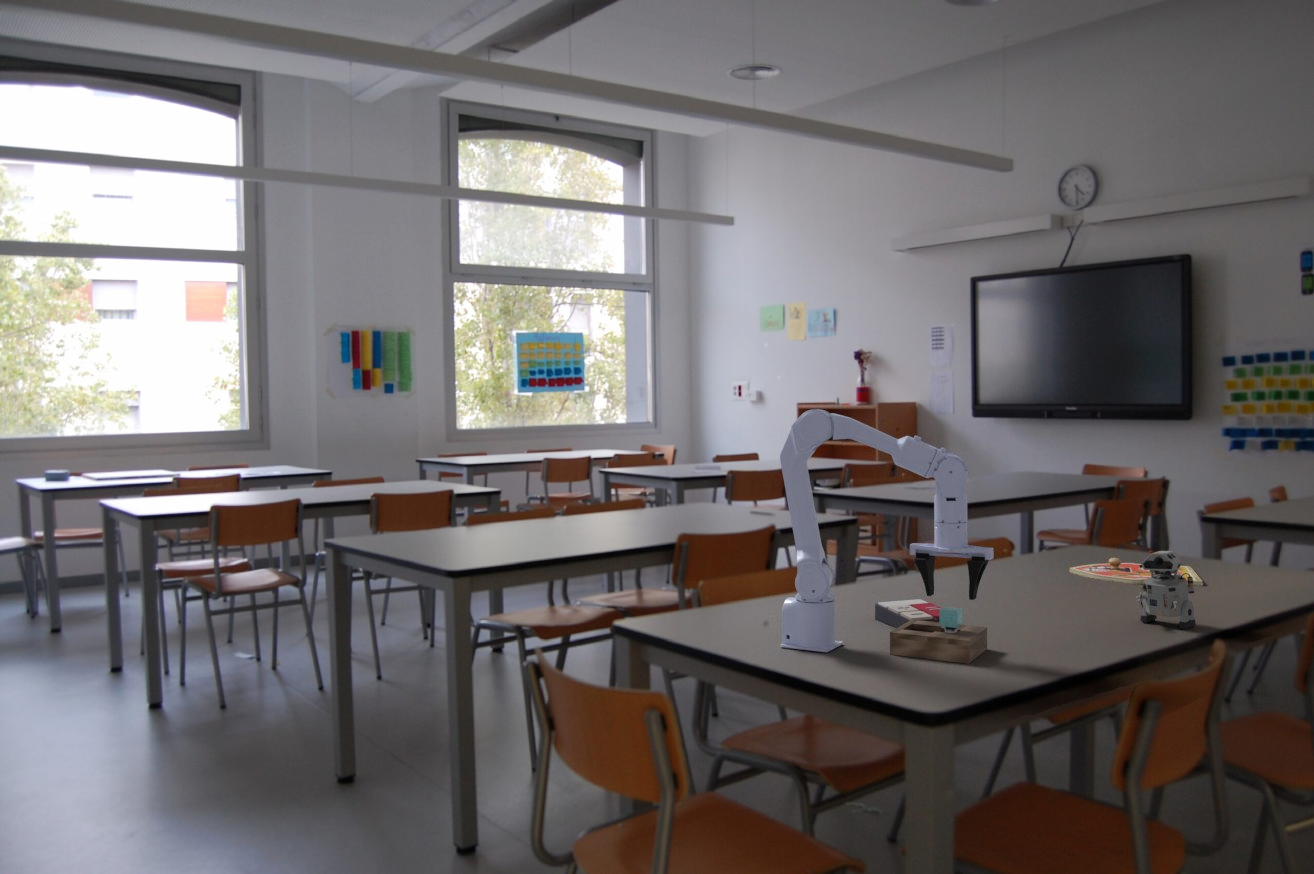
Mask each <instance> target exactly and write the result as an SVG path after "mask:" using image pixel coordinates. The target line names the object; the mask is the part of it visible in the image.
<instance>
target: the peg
mask: <svg viewBox="0 0 1314 874" xmlns="http://www.w3.org/2000/svg"><path fill="white" fill-rule="evenodd" d="M961 625H963V608H962V607H953V606H944V607H941V609H940V610H939V626H942V627H945V633H955V634H956V633H957V628H958V627H960V626H961Z"/></svg>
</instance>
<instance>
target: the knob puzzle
mask: <svg viewBox="0 0 1314 874" xmlns="http://www.w3.org/2000/svg"><path fill="white" fill-rule="evenodd" d="M1139 565H1141V563H1135V562H1122V560H1121V558H1118V557H1110V558H1109V559H1108V563H1091V564H1084V565H1083V564H1082V565H1077V566H1073V567H1072V566H1070V567H1069V573H1070V574H1074V575H1076V574H1077V575H1076V576H1080V577H1084V578H1088V577H1089V579H1092V578H1094V579H1093V580H1097V579H1100V580H1099V581H1106V582H1112V581H1114V583H1119V582H1122V583H1121V584H1127V583H1129V585H1142V583H1143V581H1144V580H1146V579H1148V578H1149V577H1151V573H1150V571H1149V570H1144V569H1143V567H1142V568H1140V566H1139ZM1177 571H1178V572H1177V574H1176V576H1182V575H1183V574H1184V575H1183V576H1182V577H1184V578H1185V579H1186V580H1188V579H1187V577H1189V575H1190V577H1193V587H1203V586H1204V582H1203V581H1204V580H1202V579H1201V577H1200V576H1199V575H1198V574H1197V573H1196V572H1195V570H1194V569H1193V568H1192V566H1189V565H1180V568H1179V569H1177ZM1185 573H1187V574H1185ZM1153 574H1154V573H1153ZM1188 574H1189V575H1188ZM1172 575H1174V573H1172ZM1187 585H1188V582H1187Z"/></svg>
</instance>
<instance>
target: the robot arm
mask: <svg viewBox="0 0 1314 874" xmlns="http://www.w3.org/2000/svg"><path fill="white" fill-rule="evenodd" d="M831 438H832V440H833V441H834V440H835V441H836V440H847V439H848V440H853V441H856V442H858V443H861V444H863V445H865V446H868V447H870V448H874V449H876V450H878V451H880V452H883V453H886V454H889V455H891V458H892V461H893V463H894V465H896V466H897V467H900V468H902V469H904V470H907V471H910V472H912V473H914V474H916V475H919V476H921V477H923V478H926V479H929V478H934V480H935V494H934V496H933V503H934V504H933V505H934V506H933V510H934V511H933V512H934V513H933V514H934V516H933V518H934V519H933V520H934V524H933V528H934V530H933V532H934V533H933V535H934V540H933V541H934V543H922V542H921V543H917V542H915V543H914V542H913V543H910V544H909V555H910V556H915V557H914V558H913V561H914V563H915V565H916V567H917V569H918V571H919V573H920V576H921V578H922V582H923V584H924V585H923V586H924V587H925V588H924V589H925V592H926V596H927V597H931V596H934V595H935V578H934V577H935V576H934V575H935V563H936V557H948V558H961V559H962V558H965V559H968V560H967V561H966V563H967V569H968V580H969V582H968V583H969V585H968V599H969V600H970V601H974V600H976V599H977V597H978V590H979V586H980V583H981V582H980V581H981V579H982V577H983V575H984V572H985V570H986V568H987V566H988V564H989V561H991V560H994V555H995V554H994V548H993V547H986V546H978V545H977V546H976V545H969V543H968V542H969V541H968V539H969V538H968V496H967V491H968V490H967V488H968V487H967V484H966V482H967V480H968V478H969V471H968V466H967V464H966V462H965V461H964V460H963V459H962V458H961V457H960V456H958V455H956V454H955V453H954V452H953V453H952V452H950V453H949V452H947V448H945V447H941V448H937V447H936V446H933V445H931V444H929V443H926V442H924V441H922V437H920V436H918V435H914V437H912V436H909V435H905V436H902V437H900V438H896V437H894V436H891V435H890V434H887V433H885V432H883V431H881V430H878V429H876V428H874V427H872V426H870V425H868V424H865V423H864V422H861V421H859V420H856V419H854V418H852V417H849V416H845V415H842V414H838V413H833V412H831V413H830V412H829V411H827V410H824V409H822V408H821V409H819V408H817V409H809V410H806V411H804V412H803V413H802V414H801V415H799V417H798V418H797V419H796V420H795V421H794V422H793V423H792V425H791V427H790V430H789V434H788V435H787V437H786V440H785V442H784V444H783V446H782V449H781V451H780V454H779V461H780V466H781V472H782V477H783V483H784V488H785V494H786V499H787V505H788V511H789V516H790V522H791V527H792V532H793V539H794V544H795V549H796V568H797V569H796V570H797V572H796V573H797V574H796V575H795V580H794V586H795V590H796V592H797V593H796V594H795V597H792V596H789V597H787V598H785V600H784V601H783V605H782V608H781V644H779V646H780V648H785V649H794V650H795V649H796V650H801V651H803V650H804V651H811V652H817V653H818V652H819V653H820V652H821V653H829V652H831V651H833V650H835V649H836V648H838V647H840V646H842V645H843V644H844V641H842V640H836V608H835V607H836V602H835V601H836V598H835V597H836V596H835V595H834V594H833V593H832V591H831V590H830V588H831V587H832V585H833V583H834V579H835V574H834V573H835V572H834V571H833V568H832V567H831V565H830V563H828V560H827V558H826V557H827V556H826V552H825V551H824V547H823V544H822V539H821V535H820V529H819V522H818V518H817V511H816V507H815V501H814V495H813V489H812V485H811V478H810V474H809V469H808V461H809V460H810V458H812V455H813V454H814V453H815V452H816V450H817V449H818V448H819V447H820V446H821V445H823V444H825V443H826V442H827V441H829V439H831Z"/></svg>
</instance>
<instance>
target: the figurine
mask: <svg viewBox="0 0 1314 874" xmlns="http://www.w3.org/2000/svg"><path fill="white" fill-rule="evenodd" d="M1149 553H1150V554H1149V555H1148V556H1147V557H1145V558H1144V560H1143V561H1142V562H1141V563H1140V564H1141V565H1139V566H1140V568H1142V567H1143V569H1144V570H1149V571H1150V573H1151V577H1149V578H1148V579H1146V580H1144V581H1143V583H1142V584H1141V586H1140V588H1141V590H1142V591H1140V592H1139V595H1135V598H1136V603H1137V605H1138V607H1139V608H1140V607H1141V615H1140V619H1139V621H1140V622H1141V623H1145V624H1148V623H1150V622H1154V621H1156V620H1157V617H1163V618H1174V617H1175V618H1176V617H1180V618H1179V619H1180V620H1179V622H1178V628H1180V629H1181V630H1189V629H1192V628H1194V627H1195V626H1196V623H1197V622H1196V618H1195V609H1194V604H1193V602H1192V600H1190V599H1189V594H1190V595H1191V594H1195V589H1194V586H1193V577H1190V575H1189V574H1188V575H1189V577H1187V579H1188V580H1186V579H1185V578H1184V577H1182V576H1183V575H1184V574H1183V575H1182V576H1176V574H1177V572H1178V571H1177V569H1179V568H1180V566H1182V560H1181V559H1180V556H1179V555H1178V554H1177V553H1176V552H1175V550H1158V551H1155V552H1154V551H1153V550H1151V549H1150V550H1149ZM1153 573H1154V574H1153ZM1172 573H1174V575H1172ZM1185 574H1187V573H1185ZM1187 582H1188V585H1187Z"/></svg>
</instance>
